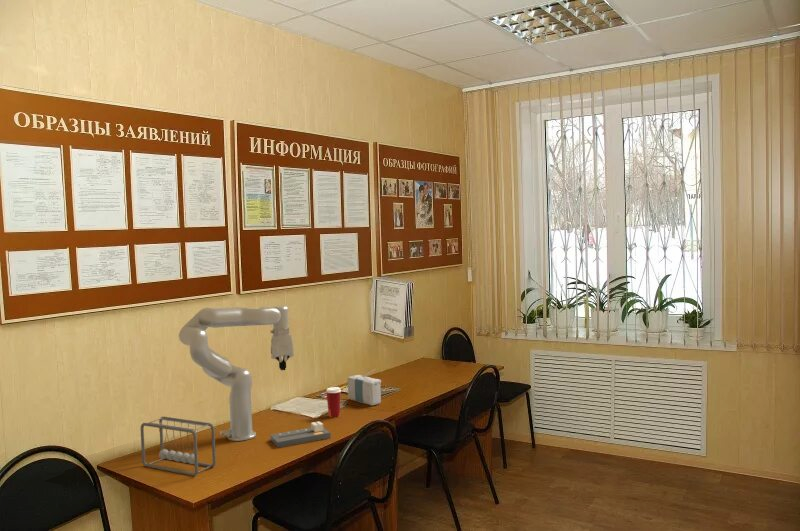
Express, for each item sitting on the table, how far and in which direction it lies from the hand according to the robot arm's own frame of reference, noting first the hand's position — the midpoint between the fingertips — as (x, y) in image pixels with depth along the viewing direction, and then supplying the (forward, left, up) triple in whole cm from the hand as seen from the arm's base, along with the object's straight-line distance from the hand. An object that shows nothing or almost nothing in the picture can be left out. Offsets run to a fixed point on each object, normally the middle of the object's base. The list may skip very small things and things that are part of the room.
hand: (282, 369), depth 294 cm
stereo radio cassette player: (+50, +18, -27) cm, 60 cm away
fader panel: (0, -24, -27) cm, 36 cm away
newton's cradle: (-52, -30, -27) cm, 67 cm away
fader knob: (+8, -24, -24) cm, 35 cm away
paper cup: (+26, +2, -27) cm, 38 cm away
